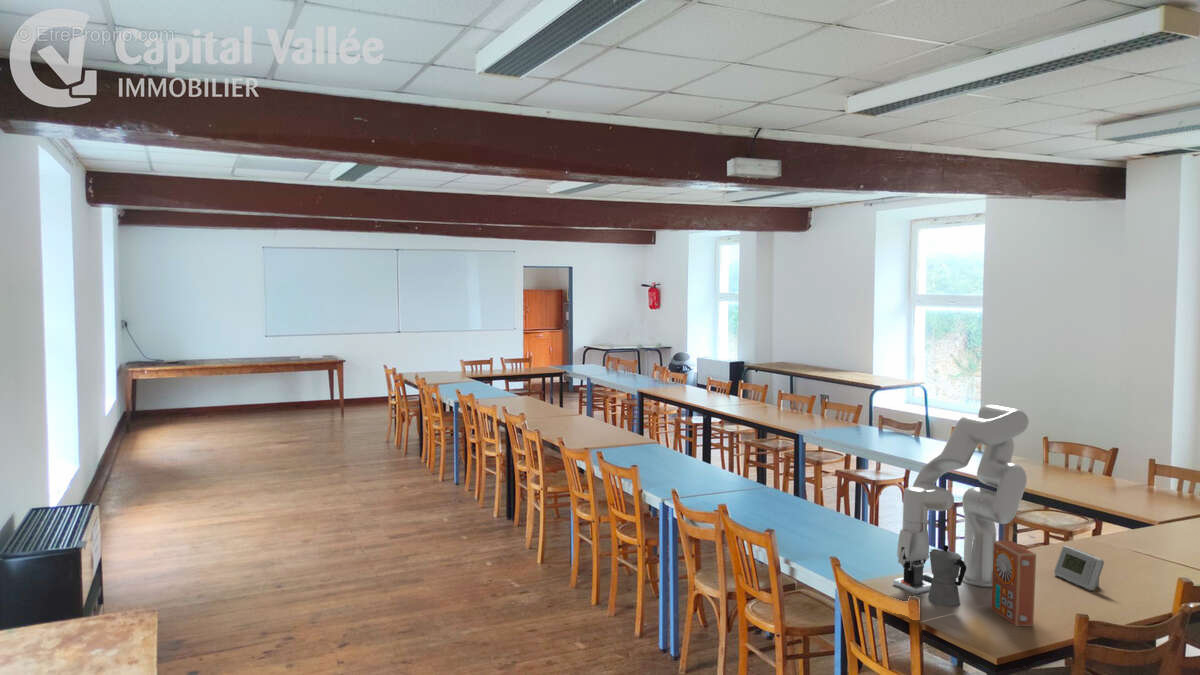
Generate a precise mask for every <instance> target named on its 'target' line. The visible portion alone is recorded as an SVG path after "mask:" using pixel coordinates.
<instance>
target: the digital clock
mask: <svg viewBox="0 0 1200 675" xmlns="http://www.w3.org/2000/svg"><path fill="white" fill-rule="evenodd" d="M1059 553H1060V554H1059V556H1058V558H1057V561H1056V565H1055V567H1054V571H1053V573H1054V575H1055V576H1056V577H1058V578H1060V579H1062V578H1063V579H1062V580H1064V579H1065V580H1064V581H1066V580H1067V581H1066V582H1068V581H1069V582H1068V583H1070V582H1072V583H1071V584H1073V583H1074V584H1073V585H1075V584H1076V586H1077V585H1079V586H1081V587H1080V588H1082V587H1083V588H1082V589H1086V590H1087V591H1092V592H1093V591H1095V590H1096V589H1097V588H1098V587H1100V576H1101V574H1102V571H1103V567H1104V565H1105V562H1104V560H1103V559H1102V558H1099V557H1097V556H1095V555H1093V554H1090V553H1088V552H1086V551H1082V550H1080V549H1077V548H1074V547H1071V546H1068V545H1063V547H1062V548H1061V551H1060V552H1059ZM1079 586H1078V587H1079Z"/></svg>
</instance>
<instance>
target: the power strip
mask: <svg viewBox="0 0 1200 675" xmlns="http://www.w3.org/2000/svg"><path fill="white" fill-rule="evenodd" d="M932 579H933V574H932V573H930V572H923V585H920V586H916V587H915V586H913V585H911V583H909V582H906V581H904V576H902V577H899V578H894V579H893V581H892V584H893V585H892V586H895V587H898V588H900V589H903V590H905V591H907V592H910V593H912V594H914V595H918V594H923V593H927V592H929V591H930V587H931V582H932Z"/></svg>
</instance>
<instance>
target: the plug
mask: <svg viewBox="0 0 1200 675" xmlns="http://www.w3.org/2000/svg"><path fill="white" fill-rule="evenodd" d="M907 563H908V564H909V562H907ZM904 570H905V569H904V568H903V571H904ZM912 570H913V571H914V573H913V582H912V583H911V582H909V583H911V585H913V586H915V587H916V586H920V585H923V573H924V568H923V563H921V562H918V561H913V568H912ZM904 581H906V580H904ZM906 582H908V581H906Z"/></svg>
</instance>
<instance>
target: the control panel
mask: <svg viewBox="0 0 1200 675" xmlns="http://www.w3.org/2000/svg"><path fill="white" fill-rule="evenodd" d="M993 548H994V549H993V575H992V587H991V599H990V600H991V607H990V609H991V610H992V611H994V612H995V613H996V614H997V615H999V616H1001V617H1002V618H1003V617H1004V620H1006V619H1007V620H1006V621H1008V622H1009V623H1011V624H1012V625H1013V626H1016V627H1032V626H1034V621H1035V620H1034V618H1035V615H1034V614H1035V596H1036V592H1035V591H1036V590H1035V589H1036V569H1037V568H1036V566H1037V554H1036V553H1035V552H1033V551H1031V550H1029V549H1027V548H1025V547H1023V546H1021V545H1019V544H1017V543H1015V542H1013V541H1011V540H996V541H994V547H993Z"/></svg>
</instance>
